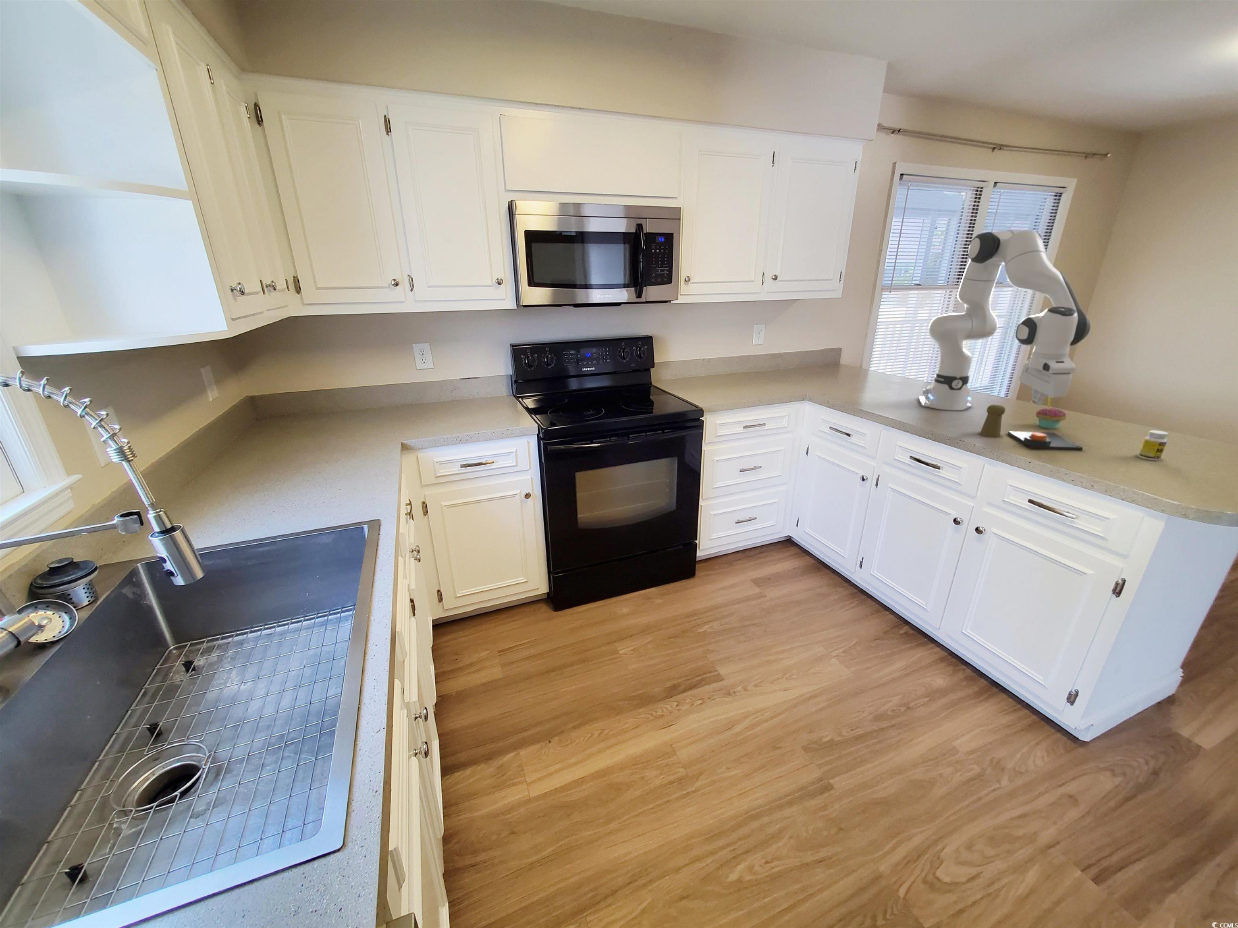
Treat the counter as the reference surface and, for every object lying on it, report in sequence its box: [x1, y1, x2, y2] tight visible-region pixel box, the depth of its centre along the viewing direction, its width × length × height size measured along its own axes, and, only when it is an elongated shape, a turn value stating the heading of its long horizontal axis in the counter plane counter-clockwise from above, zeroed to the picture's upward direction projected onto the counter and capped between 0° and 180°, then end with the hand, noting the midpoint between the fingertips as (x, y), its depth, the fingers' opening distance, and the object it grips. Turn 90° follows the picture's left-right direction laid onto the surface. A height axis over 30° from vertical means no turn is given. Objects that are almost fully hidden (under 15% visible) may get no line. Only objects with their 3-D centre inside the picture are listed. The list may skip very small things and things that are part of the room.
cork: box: [979, 404, 1006, 438], centre depth 175 cm, size 6×6×11 cm
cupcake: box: [1035, 396, 1067, 429], centre depth 181 cm, size 9×8×12 cm
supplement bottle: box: [1138, 429, 1169, 461], centre depth 150 cm, size 5×5×8 cm
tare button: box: [1030, 431, 1047, 440], centre depth 163 cm, size 4×4×2 cm
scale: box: [1007, 431, 1083, 452], centre depth 168 cm, size 16×15×3 cm
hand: (1036, 403), depth 161 cm, fingers closed
